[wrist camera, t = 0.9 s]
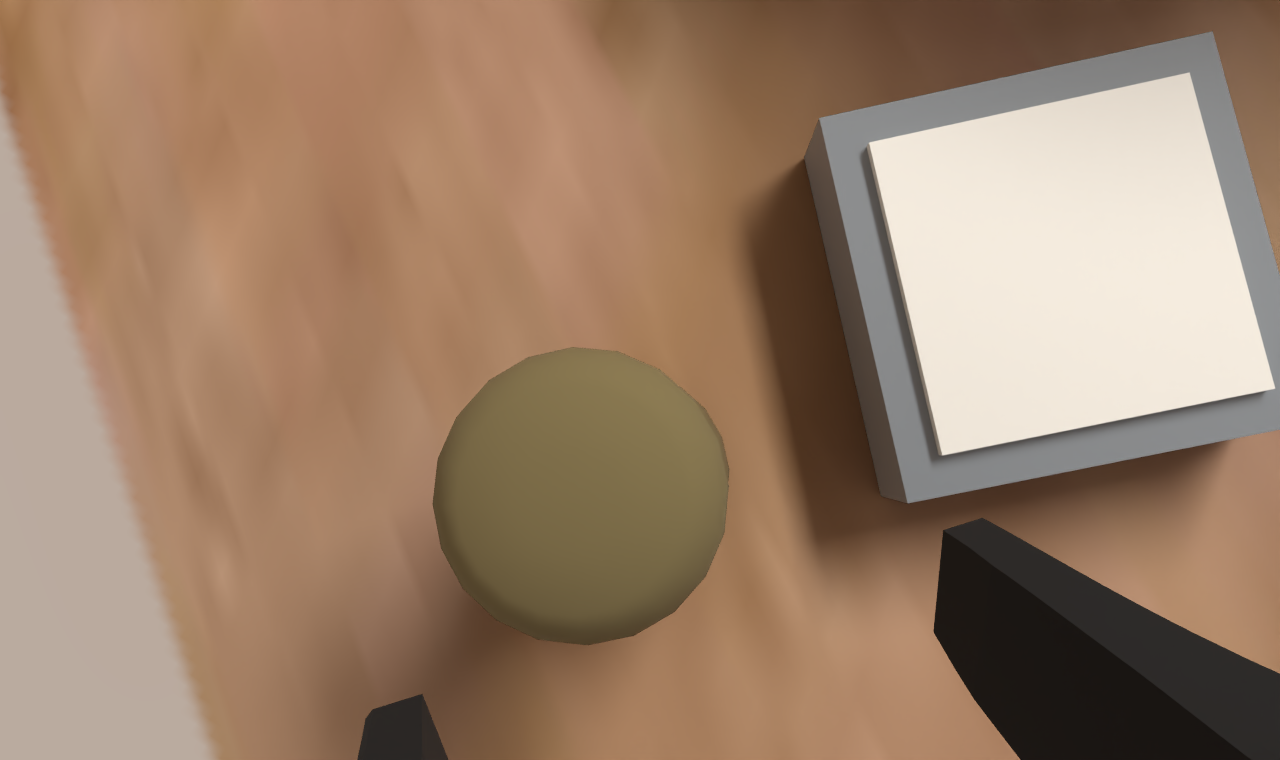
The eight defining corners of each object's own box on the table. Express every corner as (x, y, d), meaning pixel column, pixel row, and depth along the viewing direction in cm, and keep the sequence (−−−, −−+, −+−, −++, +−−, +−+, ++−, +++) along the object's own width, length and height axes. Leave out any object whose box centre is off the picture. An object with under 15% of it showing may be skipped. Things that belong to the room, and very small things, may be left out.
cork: (480, 506, 25) (309, 555, 14) (592, 331, 25) (514, 240, 14) (655, 623, 24) (624, 773, 13) (769, 443, 24) (834, 442, 13)
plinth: (1240, 424, 23) (1329, 421, 20) (880, 496, 24) (911, 504, 21) (1148, 82, 24) (1220, 25, 21) (804, 157, 25) (820, 113, 21)
